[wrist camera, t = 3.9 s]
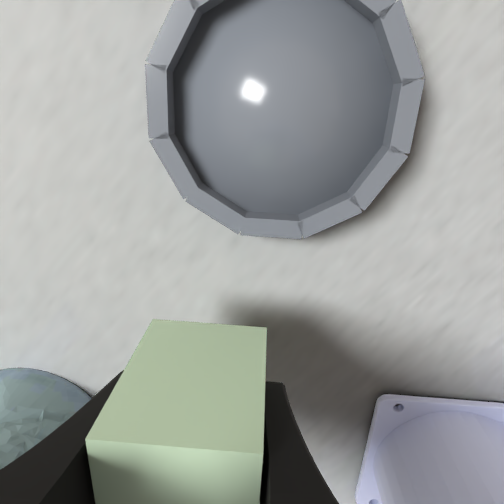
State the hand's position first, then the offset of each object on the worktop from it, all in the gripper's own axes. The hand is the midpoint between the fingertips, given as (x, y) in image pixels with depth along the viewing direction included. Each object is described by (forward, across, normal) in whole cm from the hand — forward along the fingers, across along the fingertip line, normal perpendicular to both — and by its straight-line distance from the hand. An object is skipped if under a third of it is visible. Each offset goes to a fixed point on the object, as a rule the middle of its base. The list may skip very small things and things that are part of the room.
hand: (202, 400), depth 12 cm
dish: (+6, -2, -9) cm, 11 cm away
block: (+2, 0, 0) cm, 2 cm away
